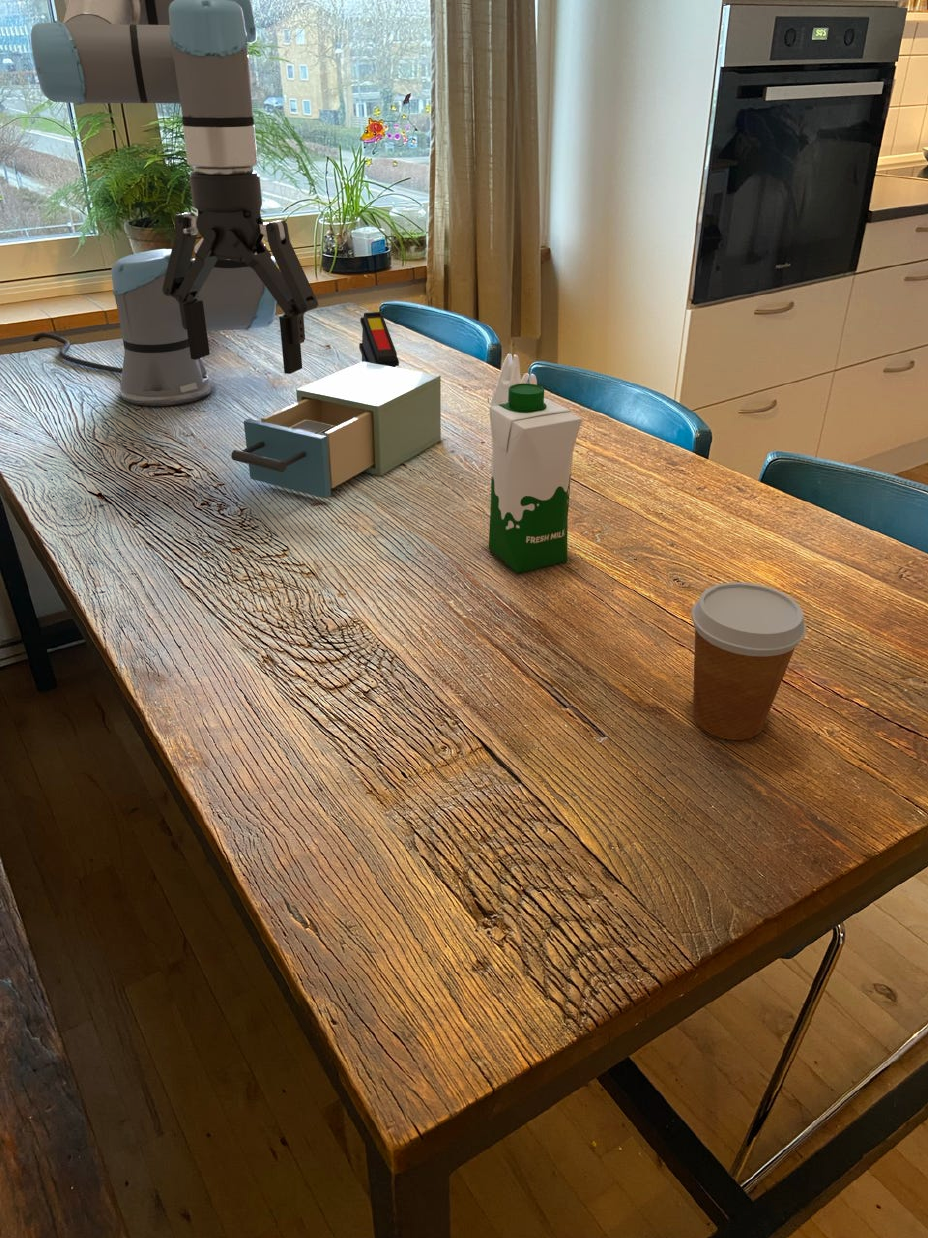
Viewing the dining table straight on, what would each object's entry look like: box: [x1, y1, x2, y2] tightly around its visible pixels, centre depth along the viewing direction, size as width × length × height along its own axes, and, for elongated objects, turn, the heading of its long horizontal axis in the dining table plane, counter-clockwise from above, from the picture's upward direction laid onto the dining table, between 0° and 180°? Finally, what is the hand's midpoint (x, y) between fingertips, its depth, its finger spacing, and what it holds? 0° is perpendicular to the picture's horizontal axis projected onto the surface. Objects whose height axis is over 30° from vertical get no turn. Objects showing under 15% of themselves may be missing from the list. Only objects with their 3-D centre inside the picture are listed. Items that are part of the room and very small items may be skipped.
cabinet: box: [295, 361, 442, 477], centre depth 138 cm, size 17×14×10 cm
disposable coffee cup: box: [691, 581, 807, 741], centre depth 81 cm, size 10×10×12 cm
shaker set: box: [489, 353, 538, 407], centre depth 147 cm, size 12×4×11 cm, turn 22°
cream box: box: [288, 420, 337, 436], centre depth 128 cm, size 8×6×5 cm
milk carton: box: [488, 383, 583, 574], centre depth 106 cm, size 9×9×20 cm
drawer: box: [230, 398, 375, 500], centre depth 126 cm, size 21×13×8 cm, turn 150°
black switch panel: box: [358, 311, 400, 367], centre depth 155 cm, size 4×13×15 cm, turn 19°
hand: (246, 363), depth 111 cm, fingers open, 13 cm apart
